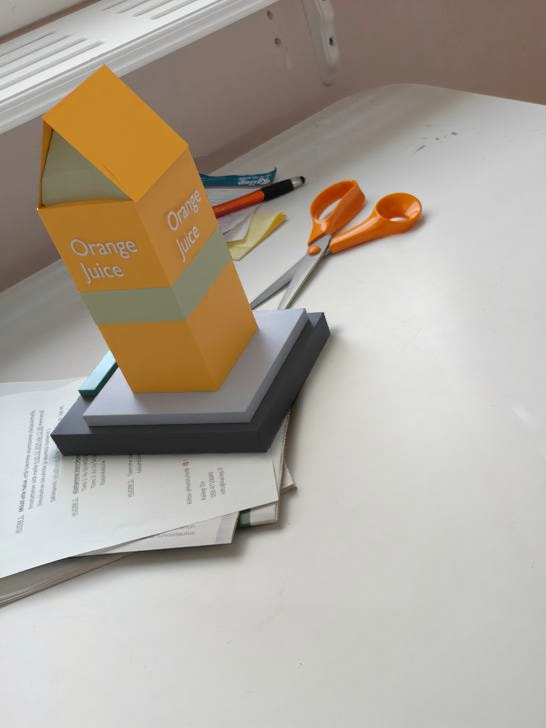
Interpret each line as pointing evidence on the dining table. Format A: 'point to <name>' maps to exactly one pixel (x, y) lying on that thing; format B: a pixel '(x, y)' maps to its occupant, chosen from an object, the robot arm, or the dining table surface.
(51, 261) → the dining table surface
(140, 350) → the orange juice
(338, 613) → the dining table surface
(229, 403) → the scale
